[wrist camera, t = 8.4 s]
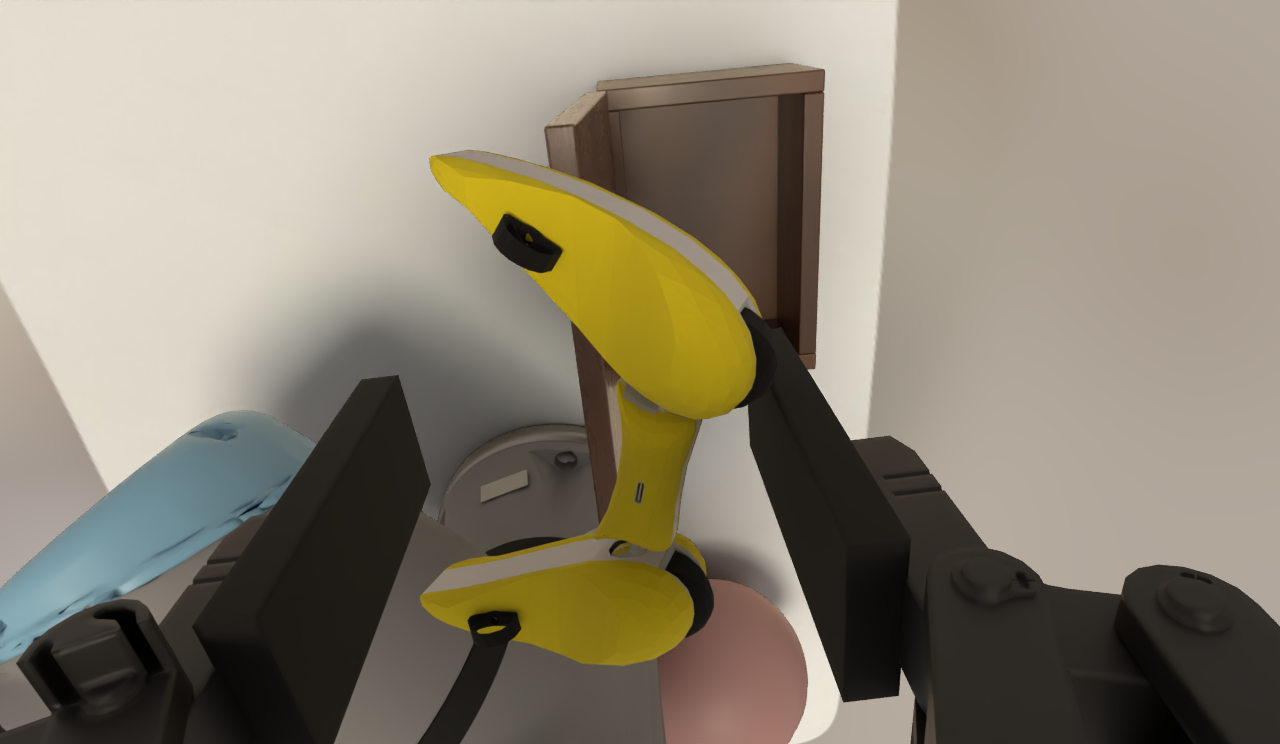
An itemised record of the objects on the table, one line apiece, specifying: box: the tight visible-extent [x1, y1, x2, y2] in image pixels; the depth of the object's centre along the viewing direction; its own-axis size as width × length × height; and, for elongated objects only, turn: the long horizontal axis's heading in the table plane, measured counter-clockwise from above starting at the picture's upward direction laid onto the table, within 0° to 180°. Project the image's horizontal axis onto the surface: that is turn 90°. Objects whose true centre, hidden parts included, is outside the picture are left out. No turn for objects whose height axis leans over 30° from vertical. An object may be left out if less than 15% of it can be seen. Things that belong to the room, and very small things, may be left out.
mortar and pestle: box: [657, 579, 808, 744], centre depth 45 cm, size 12×12×12 cm
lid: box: [544, 91, 622, 525], centre depth 27 cm, size 11×14×1 cm
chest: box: [597, 63, 825, 370], centre depth 35 cm, size 10×14×6 cm
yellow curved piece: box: [420, 150, 779, 666], centre depth 14 cm, size 10×6×4 cm, turn 171°
